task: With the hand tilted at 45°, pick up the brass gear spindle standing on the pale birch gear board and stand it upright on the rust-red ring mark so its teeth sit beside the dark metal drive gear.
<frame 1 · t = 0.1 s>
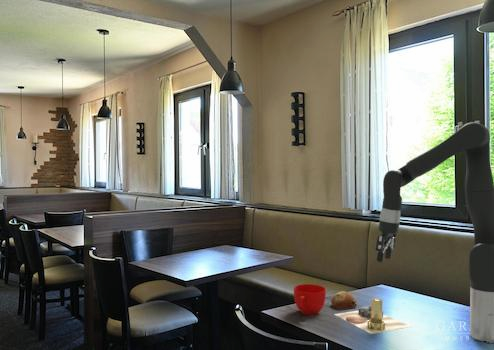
hand: (383, 260, 174), 22 cm above the table, tool pointing down, fingers open, 8 cm apart
ceramic cup: (307, 314, 176), on the table
gear board: (370, 324, 165), on the table
brass gear spindle: (376, 327, 158), point 1 cm above the table, touching gear board
bread roll: (344, 306, 187), on the table
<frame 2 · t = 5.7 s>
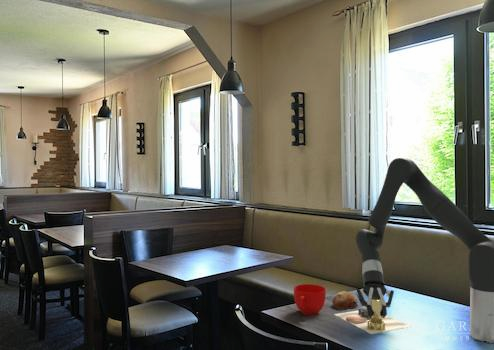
hand: (377, 316, 156), 6 cm above the table, tool tilted 45°, fingers closed on brass gear spindle, 4 cm apart
brass gear spindle: (376, 327, 158), point 2 cm above the table, touching gear board, gripper
everything else where it was.
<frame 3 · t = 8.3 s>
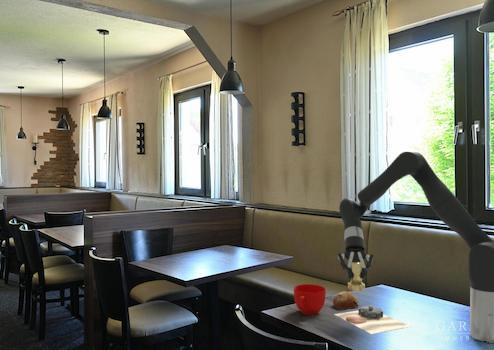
hand: (357, 278, 163), 18 cm above the table, tool tilted 45°, fingers closed on brass gear spindle, 4 cm apart
brass gear spindle: (356, 288, 165), point 13 cm above the table, touching gripper
everything else where it was.
when the fingers open (8 cm above the table, at t = 10.9 s): brass gear spindle drops 1 cm, resting on gear board.
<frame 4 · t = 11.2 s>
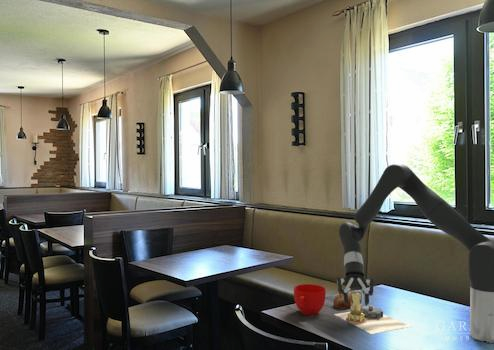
hand: (356, 304, 163), 8 cm above the table, tool tilted 45°, fingers open, 6 cm apart
brass gear spindle: (356, 319, 165), point 2 cm above the table, touching gear board
everything else where it was.
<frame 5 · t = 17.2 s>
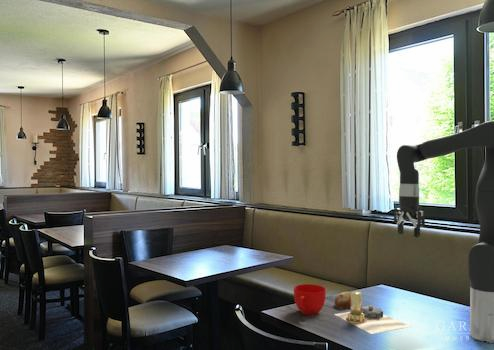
hand: (408, 235, 174), 32 cm above the table, tool pointing down, fingers open, 8 cm apart
at the end: brass gear spindle 0.1 cm from the target spot on the gear board, point 1.7 cm above the gear board's base; brass gear spindle tilted 0°; the gripper is holding nothing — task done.
